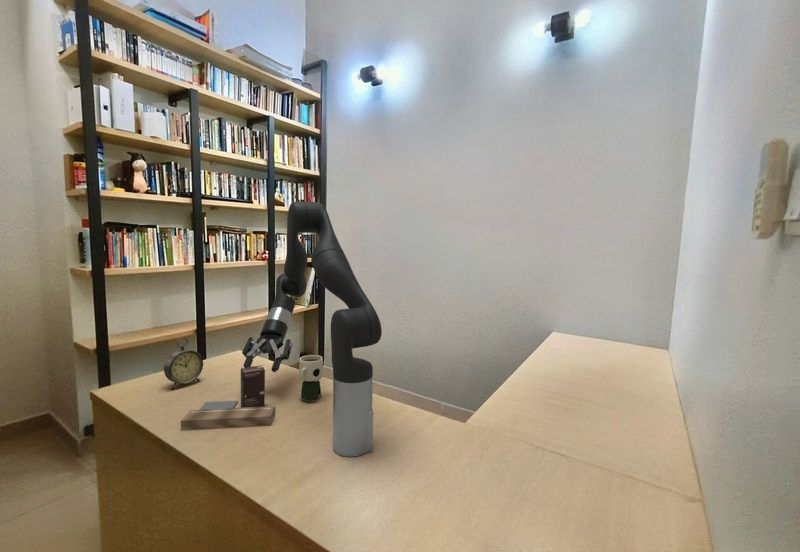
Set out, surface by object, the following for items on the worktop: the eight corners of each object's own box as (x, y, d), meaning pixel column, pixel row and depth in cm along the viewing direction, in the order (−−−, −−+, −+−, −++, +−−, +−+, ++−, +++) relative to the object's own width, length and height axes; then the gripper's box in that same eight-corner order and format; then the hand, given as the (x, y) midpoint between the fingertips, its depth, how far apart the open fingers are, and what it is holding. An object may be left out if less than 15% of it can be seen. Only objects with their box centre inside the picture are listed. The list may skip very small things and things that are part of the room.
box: (243, 414, 100) (242, 372, 99) (240, 408, 104) (239, 367, 103) (265, 409, 104) (265, 368, 103) (262, 403, 107) (261, 364, 106)
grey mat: (237, 402, 108) (237, 400, 108) (228, 416, 99) (228, 414, 99) (205, 403, 106) (205, 402, 106) (193, 418, 98) (193, 416, 97)
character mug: (312, 408, 105) (312, 364, 104) (290, 404, 107) (290, 362, 106) (329, 393, 115) (329, 354, 114) (310, 390, 117) (310, 352, 116)
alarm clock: (170, 392, 114) (169, 342, 113) (162, 388, 117) (160, 339, 116) (204, 381, 123) (203, 335, 122) (195, 378, 126) (194, 333, 125)
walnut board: (275, 414, 100) (275, 405, 100) (271, 425, 95) (270, 415, 94) (190, 419, 97) (190, 409, 97) (180, 430, 91) (180, 420, 91)
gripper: (251, 317, 115) (232, 363, 105) (294, 318, 114) (278, 365, 103) (260, 329, 121) (242, 374, 111) (300, 331, 120) (286, 377, 109)
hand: (259, 370), depth 107 cm, fingers open, 8 cm apart
